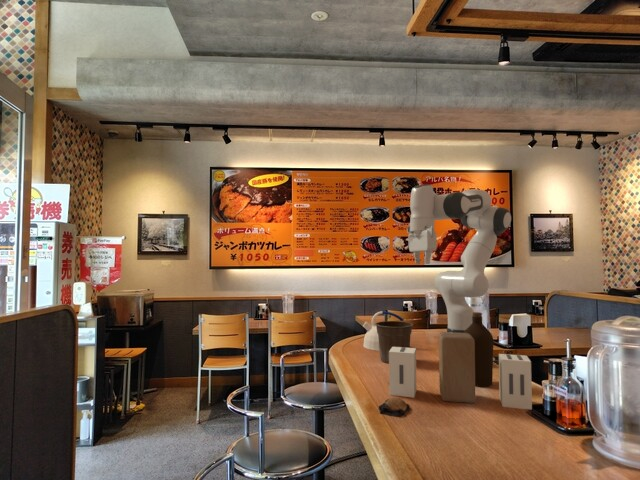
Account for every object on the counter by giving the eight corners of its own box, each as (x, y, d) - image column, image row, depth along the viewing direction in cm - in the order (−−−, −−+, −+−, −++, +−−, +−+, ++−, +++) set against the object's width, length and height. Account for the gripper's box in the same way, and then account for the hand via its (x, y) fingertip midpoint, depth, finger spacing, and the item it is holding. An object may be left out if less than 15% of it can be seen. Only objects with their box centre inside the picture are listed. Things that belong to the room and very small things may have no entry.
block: (476, 404, 125) (475, 338, 126) (442, 401, 127) (441, 336, 128) (470, 393, 135) (469, 332, 136) (439, 391, 137) (438, 331, 138)
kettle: (363, 342, 219) (363, 308, 220) (402, 343, 216) (402, 309, 217) (361, 350, 199) (361, 313, 200) (405, 352, 196) (405, 314, 197)
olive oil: (479, 389, 140) (477, 315, 141) (456, 381, 149) (455, 311, 151) (501, 385, 145) (499, 313, 146) (477, 377, 154) (476, 310, 155)
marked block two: (499, 398, 131) (498, 353, 132) (527, 400, 129) (526, 354, 129) (502, 406, 123) (501, 359, 124) (532, 409, 121) (531, 361, 122)
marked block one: (392, 387, 142) (392, 346, 142) (416, 390, 139) (416, 347, 140) (389, 395, 134) (388, 351, 134) (414, 397, 131) (413, 352, 132)
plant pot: (388, 367, 168) (388, 327, 169) (368, 358, 183) (368, 322, 184) (421, 363, 175) (420, 325, 176) (399, 355, 190) (399, 319, 190)
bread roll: (385, 403, 127) (385, 391, 128) (412, 407, 124) (412, 395, 124) (375, 415, 118) (375, 402, 118) (404, 420, 114) (404, 406, 115)
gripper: (441, 224, 145) (441, 264, 144) (420, 229, 165) (420, 263, 164) (424, 224, 144) (424, 263, 143) (405, 229, 164) (405, 263, 164)
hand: (422, 263), depth 154 cm, fingers open, 8 cm apart
